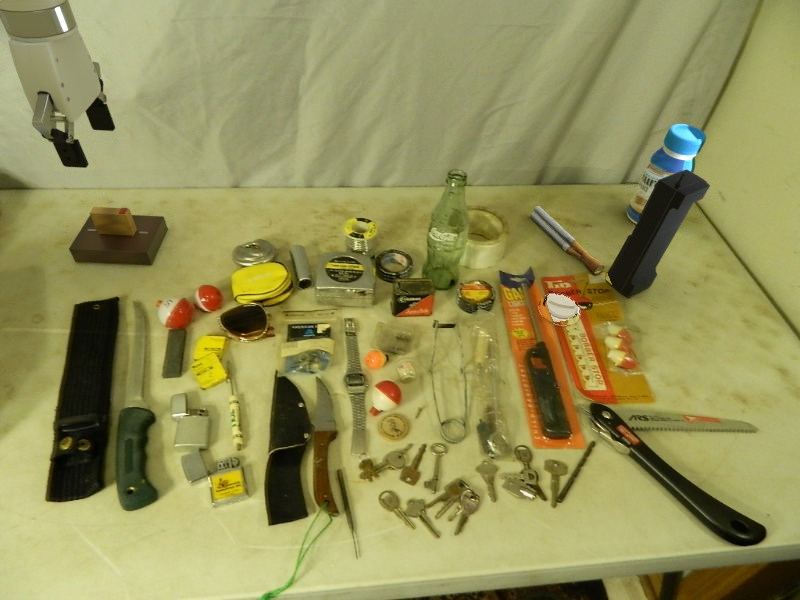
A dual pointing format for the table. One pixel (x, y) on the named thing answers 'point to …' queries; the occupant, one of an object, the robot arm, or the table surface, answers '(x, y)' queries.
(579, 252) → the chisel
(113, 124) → the robot arm
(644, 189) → the beverage bottle
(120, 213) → the light wood flat block
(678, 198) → the black long block
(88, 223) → the dark brown flat block
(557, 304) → the stove knob
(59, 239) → the table surface
